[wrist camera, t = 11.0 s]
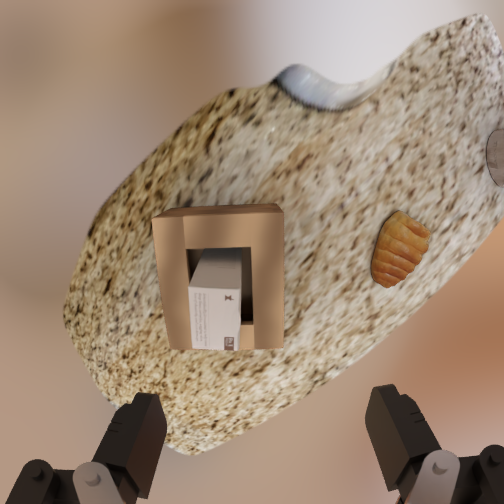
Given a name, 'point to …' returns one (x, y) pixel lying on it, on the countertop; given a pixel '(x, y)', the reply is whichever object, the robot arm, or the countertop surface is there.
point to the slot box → (252, 271)
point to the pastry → (398, 249)
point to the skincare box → (216, 300)
